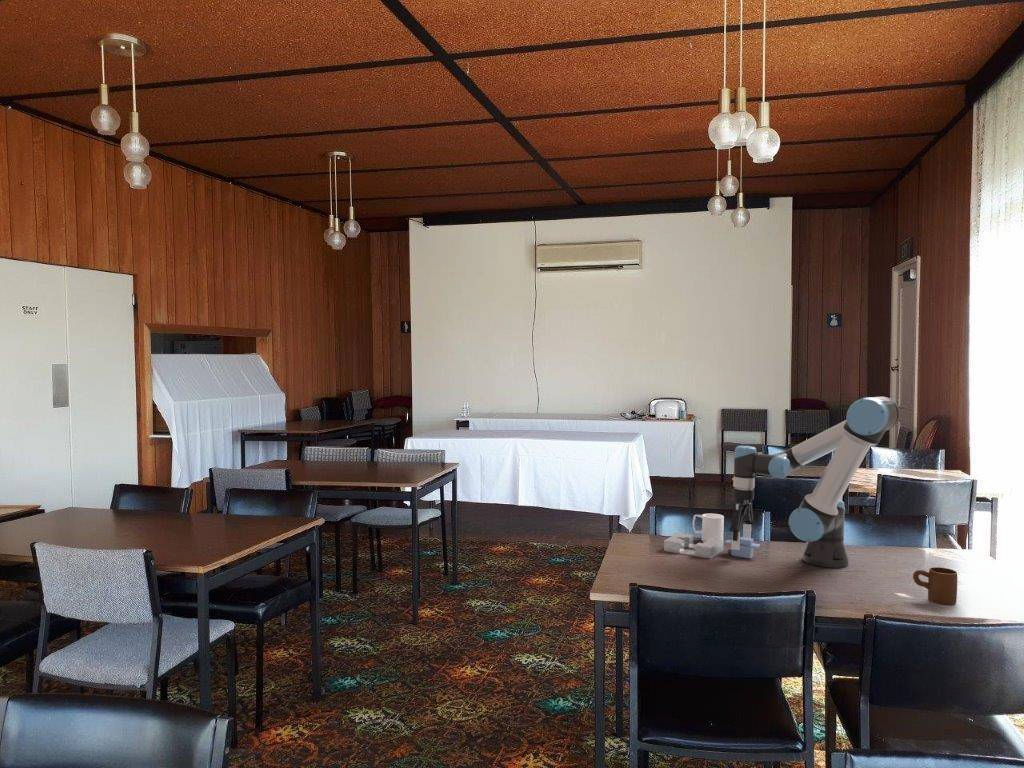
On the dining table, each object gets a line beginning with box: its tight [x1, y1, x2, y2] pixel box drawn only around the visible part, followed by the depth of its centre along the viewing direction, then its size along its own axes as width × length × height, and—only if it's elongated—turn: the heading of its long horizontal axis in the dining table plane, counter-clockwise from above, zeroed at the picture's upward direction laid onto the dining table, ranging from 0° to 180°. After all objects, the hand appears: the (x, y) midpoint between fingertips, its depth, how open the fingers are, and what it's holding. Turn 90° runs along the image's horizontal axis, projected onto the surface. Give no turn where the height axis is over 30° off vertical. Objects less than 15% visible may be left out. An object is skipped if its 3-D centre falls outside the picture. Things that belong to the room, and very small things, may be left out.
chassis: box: [663, 532, 725, 560], centre depth 282 cm, size 18×14×4 cm
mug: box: [912, 566, 958, 606], centre depth 227 cm, size 12×8×9 cm, turn 76°
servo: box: [724, 536, 761, 559], centre depth 275 cm, size 12×4×6 cm, turn 56°
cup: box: [692, 513, 725, 542], centre depth 297 cm, size 8×12×10 cm
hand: (741, 545), depth 276 cm, fingers open, 13 cm apart
